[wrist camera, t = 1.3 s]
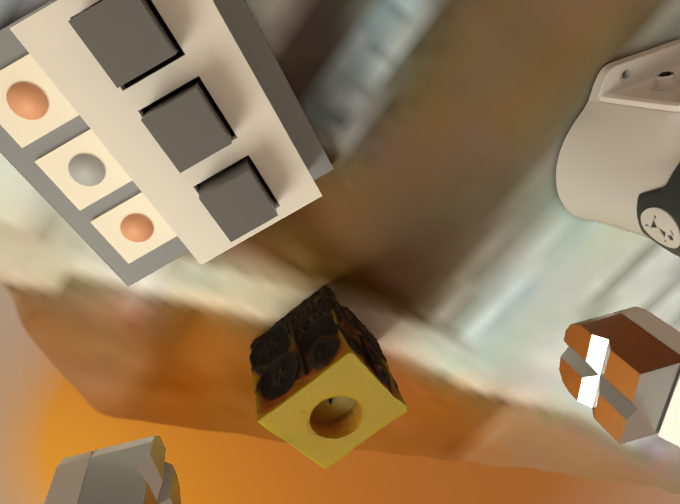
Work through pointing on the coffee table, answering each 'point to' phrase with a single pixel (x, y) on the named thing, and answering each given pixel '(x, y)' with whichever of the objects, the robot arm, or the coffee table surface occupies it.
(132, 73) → the switch
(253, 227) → the switch
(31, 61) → the switch unit
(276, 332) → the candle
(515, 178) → the coffee table surface
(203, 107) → the switch
